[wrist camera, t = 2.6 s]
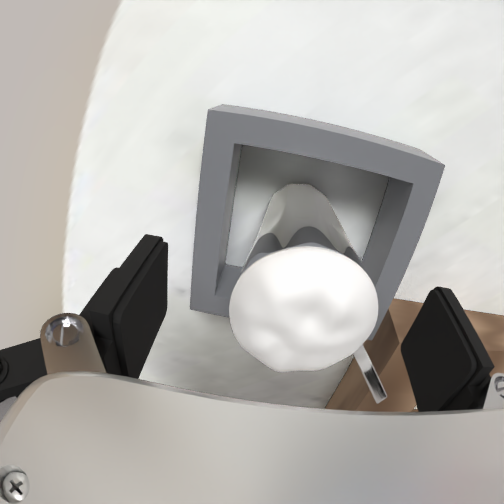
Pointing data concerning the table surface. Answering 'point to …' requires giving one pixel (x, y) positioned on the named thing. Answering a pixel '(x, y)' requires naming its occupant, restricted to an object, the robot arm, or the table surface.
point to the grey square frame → (320, 147)
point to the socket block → (392, 364)
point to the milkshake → (304, 290)
